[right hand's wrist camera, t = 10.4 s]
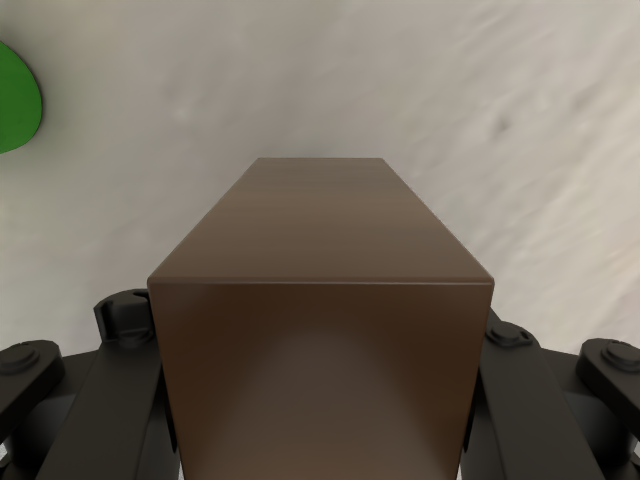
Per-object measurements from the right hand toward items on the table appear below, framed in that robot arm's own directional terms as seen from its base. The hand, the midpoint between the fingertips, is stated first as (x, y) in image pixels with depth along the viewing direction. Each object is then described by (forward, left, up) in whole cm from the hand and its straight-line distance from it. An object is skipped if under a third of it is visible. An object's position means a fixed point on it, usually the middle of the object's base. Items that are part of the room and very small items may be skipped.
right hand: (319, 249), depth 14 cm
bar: (+10, 0, -1) cm, 10 cm away
